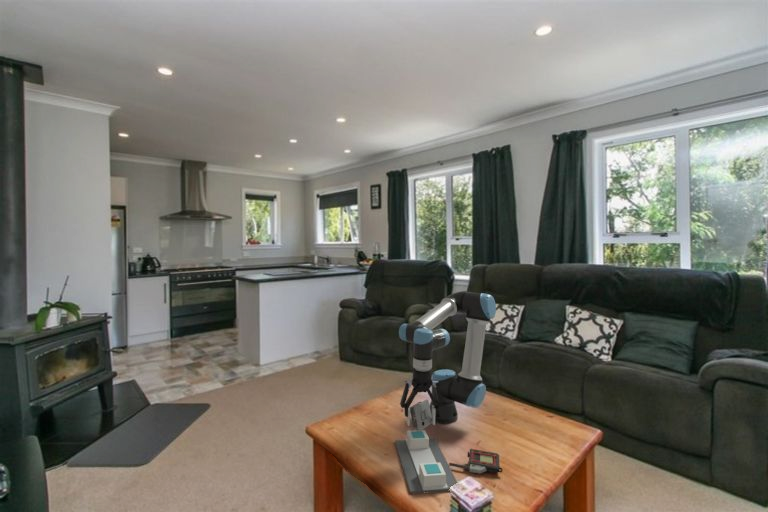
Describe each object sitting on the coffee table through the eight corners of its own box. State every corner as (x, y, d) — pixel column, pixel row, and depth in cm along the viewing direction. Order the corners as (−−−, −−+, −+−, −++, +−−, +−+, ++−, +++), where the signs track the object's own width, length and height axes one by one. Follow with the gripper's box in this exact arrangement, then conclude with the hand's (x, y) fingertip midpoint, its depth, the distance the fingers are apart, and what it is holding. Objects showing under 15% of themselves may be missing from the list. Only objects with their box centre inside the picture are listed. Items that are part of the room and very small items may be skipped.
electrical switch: (420, 432, 136) (418, 407, 136) (409, 428, 139) (408, 404, 139) (433, 423, 143) (432, 400, 143) (422, 420, 146) (421, 397, 147)
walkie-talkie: (503, 474, 131) (448, 464, 137) (502, 482, 133) (448, 471, 138) (502, 453, 139) (450, 444, 144) (501, 460, 141) (450, 451, 146)
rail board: (434, 440, 157) (435, 427, 157) (459, 490, 126) (460, 474, 125) (395, 442, 155) (395, 429, 155) (410, 494, 123) (410, 478, 123)
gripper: (396, 372, 135) (394, 429, 136) (452, 371, 138) (450, 427, 138) (393, 365, 143) (392, 419, 143) (446, 364, 145) (445, 418, 146)
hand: (420, 423), depth 141 cm, fingers closed on electrical switch, 9 cm apart
